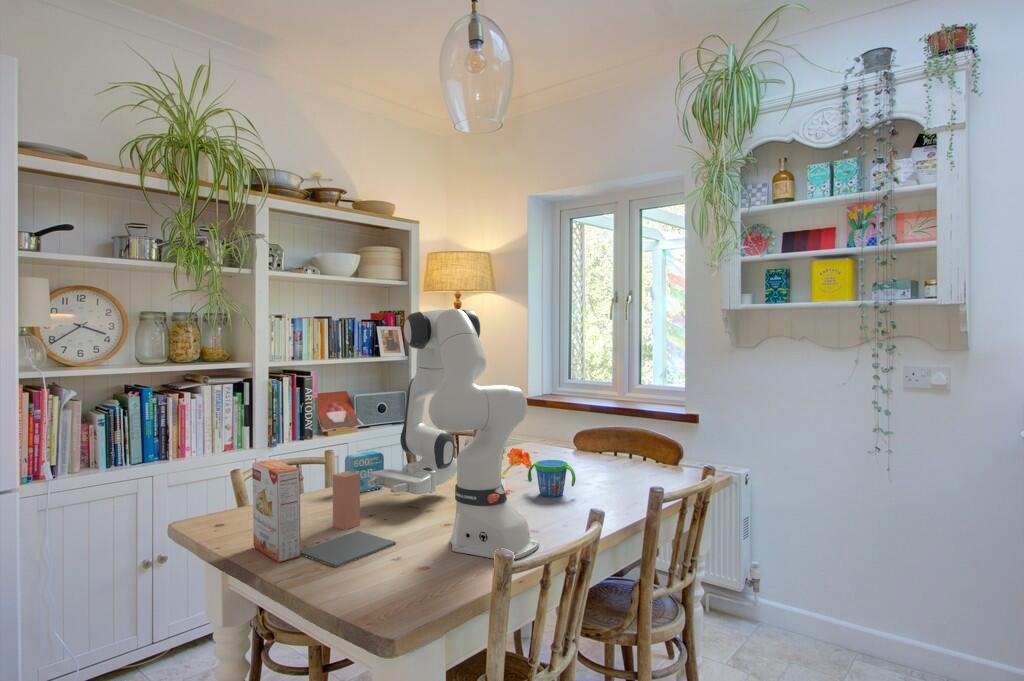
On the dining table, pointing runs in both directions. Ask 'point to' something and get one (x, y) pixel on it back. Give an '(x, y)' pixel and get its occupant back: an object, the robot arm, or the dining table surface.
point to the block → (346, 500)
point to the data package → (365, 466)
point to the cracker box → (276, 509)
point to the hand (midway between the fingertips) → (380, 486)
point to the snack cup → (551, 476)
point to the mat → (346, 548)
